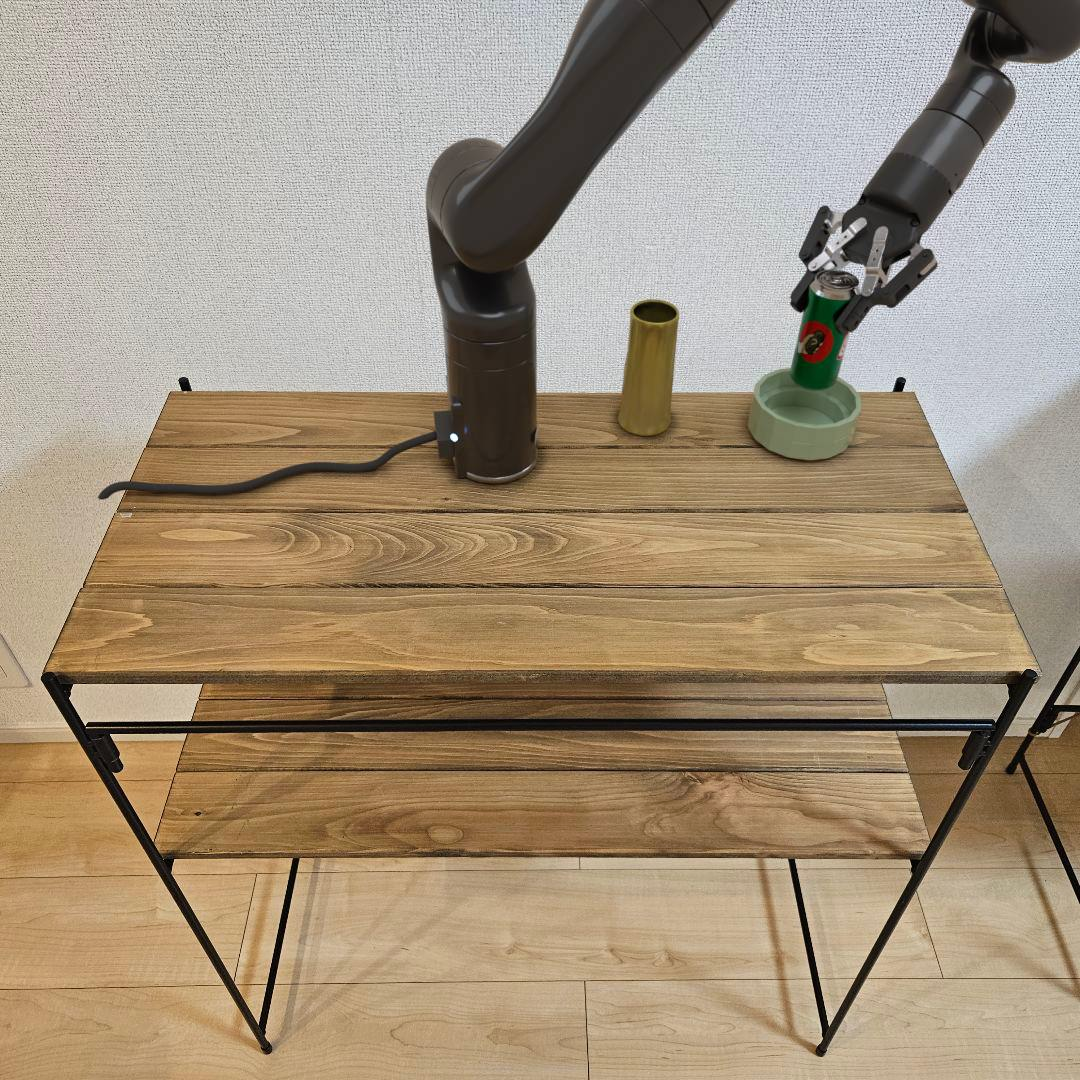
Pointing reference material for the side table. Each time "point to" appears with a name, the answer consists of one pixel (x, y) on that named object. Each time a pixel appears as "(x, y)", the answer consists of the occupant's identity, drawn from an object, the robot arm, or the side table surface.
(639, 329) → the vase
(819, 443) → the bowl
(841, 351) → the soda can
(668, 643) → the side table surface
